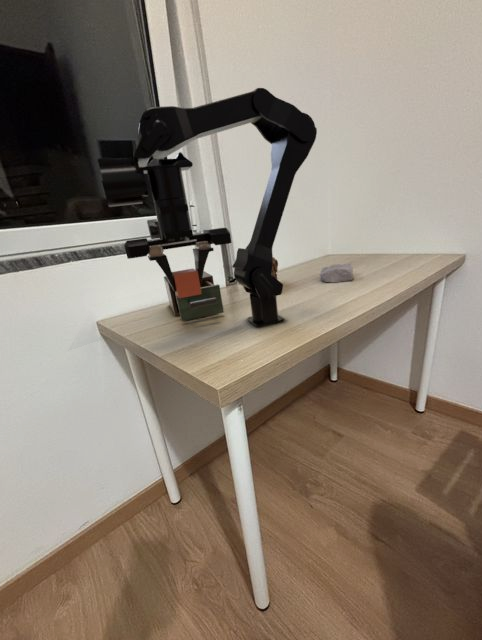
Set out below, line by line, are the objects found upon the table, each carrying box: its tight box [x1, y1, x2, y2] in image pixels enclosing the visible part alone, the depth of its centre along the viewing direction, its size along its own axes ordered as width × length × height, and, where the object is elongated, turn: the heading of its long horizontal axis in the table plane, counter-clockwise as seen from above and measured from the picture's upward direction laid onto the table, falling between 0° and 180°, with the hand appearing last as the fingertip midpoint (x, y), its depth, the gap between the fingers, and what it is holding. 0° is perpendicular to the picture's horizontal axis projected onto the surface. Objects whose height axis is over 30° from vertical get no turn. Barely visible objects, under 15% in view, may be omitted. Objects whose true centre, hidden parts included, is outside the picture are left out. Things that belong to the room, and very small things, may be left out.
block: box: [171, 268, 202, 298], centre depth 59 cm, size 4×4×4 cm
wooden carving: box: [272, 256, 279, 280], centre depth 97 cm, size 16×5×10 cm, turn 0°
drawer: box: [174, 280, 225, 322], centre depth 76 cm, size 17×10×7 cm, turn 19°
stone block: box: [319, 263, 354, 283], centre depth 99 cm, size 12×5×10 cm
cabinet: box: [163, 270, 215, 317], centre depth 86 cm, size 14×12×9 cm
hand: (187, 288), depth 60 cm, fingers closed on block, 4 cm apart
